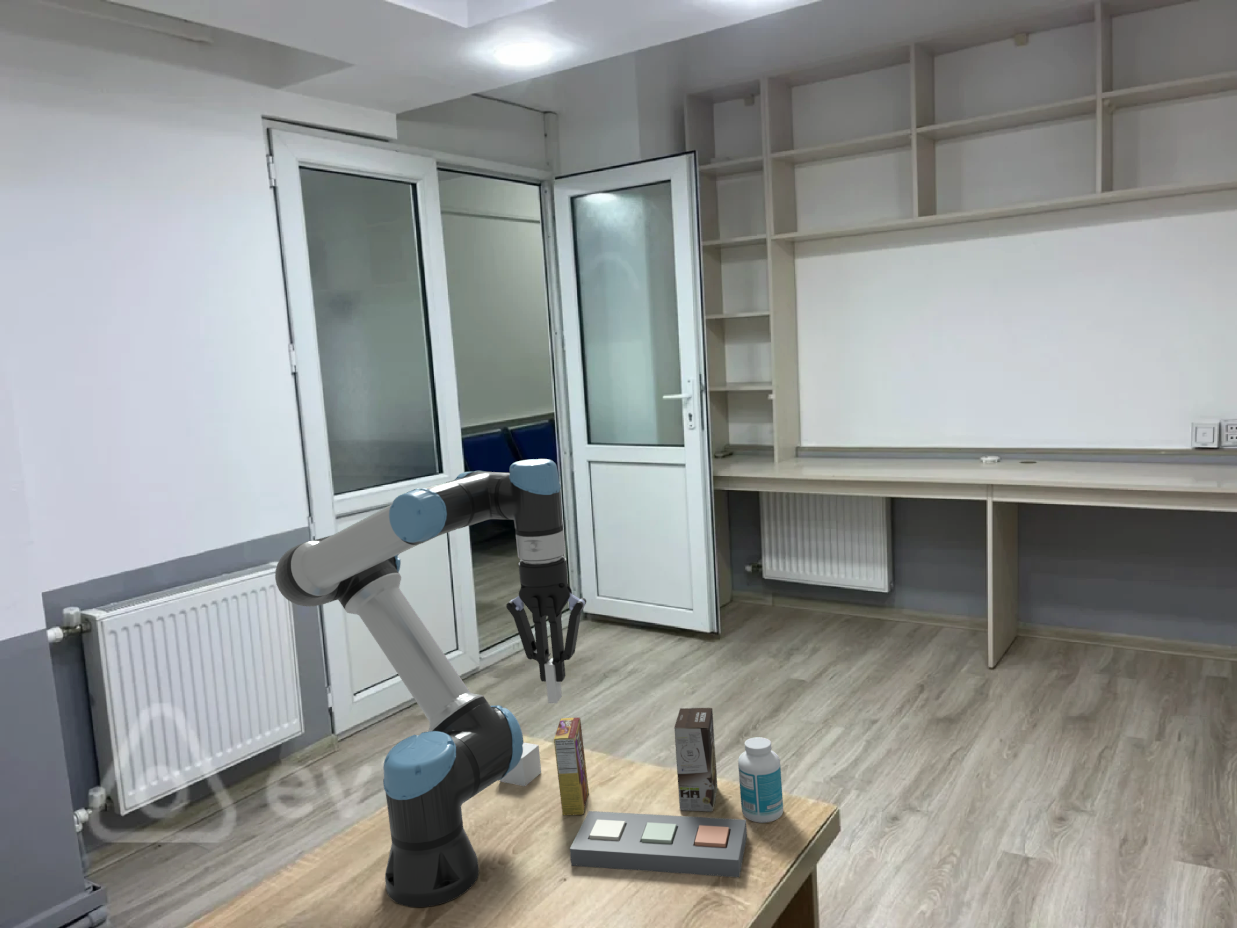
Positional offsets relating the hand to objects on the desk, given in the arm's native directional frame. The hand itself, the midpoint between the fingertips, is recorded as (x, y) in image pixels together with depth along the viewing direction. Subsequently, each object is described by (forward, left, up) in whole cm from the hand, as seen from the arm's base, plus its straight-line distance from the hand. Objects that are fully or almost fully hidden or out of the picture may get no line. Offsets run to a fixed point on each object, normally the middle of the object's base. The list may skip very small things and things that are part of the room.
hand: (555, 699), depth 148 cm
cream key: (+5, +6, -29) cm, 30 cm away
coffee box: (+18, +24, -30) cm, 42 cm away
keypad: (+14, +7, -29) cm, 33 cm away
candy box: (-5, +20, -30) cm, 36 cm away
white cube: (-19, +29, -30) cm, 46 cm away
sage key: (+14, +7, -29) cm, 33 cm away
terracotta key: (+23, +6, -29) cm, 38 cm away
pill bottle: (+30, +20, -30) cm, 47 cm away
